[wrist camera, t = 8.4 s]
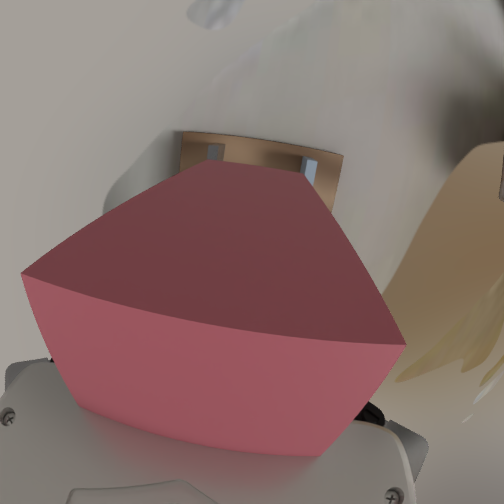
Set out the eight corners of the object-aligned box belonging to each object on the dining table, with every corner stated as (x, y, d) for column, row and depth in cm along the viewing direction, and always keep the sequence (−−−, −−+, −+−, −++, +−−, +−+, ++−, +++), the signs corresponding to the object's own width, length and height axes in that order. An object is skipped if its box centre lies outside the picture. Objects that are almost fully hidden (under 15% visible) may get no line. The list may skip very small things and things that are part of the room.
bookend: (214, 243, 33) (207, 258, 30) (206, 242, 33) (198, 256, 30) (225, 144, 28) (218, 146, 24) (216, 143, 28) (208, 145, 24)
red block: (265, 346, 19) (254, 511, 8) (196, 334, 19) (146, 491, 8) (303, 173, 13) (407, 344, 3) (207, 159, 13) (20, 273, 3)
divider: (291, 255, 33) (293, 271, 30) (283, 254, 33) (284, 270, 30) (311, 157, 28) (317, 161, 24) (302, 156, 28) (307, 159, 24)
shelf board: (315, 261, 35) (317, 267, 34) (179, 240, 35) (175, 244, 34) (340, 154, 29) (343, 155, 28) (187, 131, 29) (183, 131, 28)
